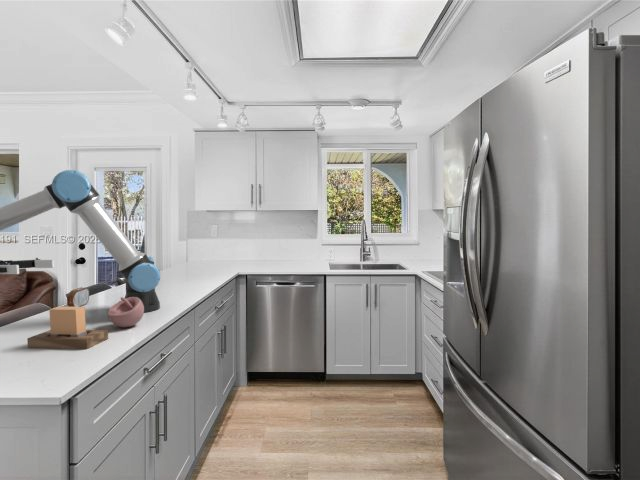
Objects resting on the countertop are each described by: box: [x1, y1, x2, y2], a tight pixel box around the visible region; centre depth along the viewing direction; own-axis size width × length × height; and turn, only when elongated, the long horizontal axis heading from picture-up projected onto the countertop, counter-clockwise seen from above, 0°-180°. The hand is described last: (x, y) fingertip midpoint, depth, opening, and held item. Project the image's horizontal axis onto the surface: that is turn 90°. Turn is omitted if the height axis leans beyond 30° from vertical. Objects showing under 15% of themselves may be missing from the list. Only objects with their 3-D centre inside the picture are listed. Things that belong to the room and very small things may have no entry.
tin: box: [66, 287, 90, 307], centre depth 178 cm, size 15×3×8 cm, turn 5°
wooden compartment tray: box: [26, 329, 109, 350], centre depth 125 cm, size 10×20×3 cm, turn 84°
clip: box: [49, 306, 87, 337], centre depth 124 cm, size 4×10×12 cm, turn 84°
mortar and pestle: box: [107, 296, 145, 328], centre depth 143 cm, size 12×12×12 cm
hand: (36, 266), depth 124 cm, fingers open, 13 cm apart
